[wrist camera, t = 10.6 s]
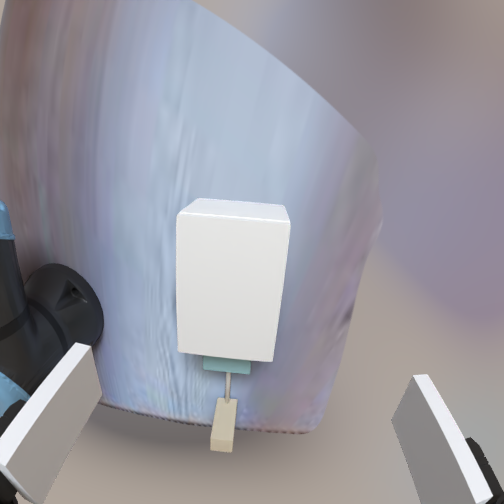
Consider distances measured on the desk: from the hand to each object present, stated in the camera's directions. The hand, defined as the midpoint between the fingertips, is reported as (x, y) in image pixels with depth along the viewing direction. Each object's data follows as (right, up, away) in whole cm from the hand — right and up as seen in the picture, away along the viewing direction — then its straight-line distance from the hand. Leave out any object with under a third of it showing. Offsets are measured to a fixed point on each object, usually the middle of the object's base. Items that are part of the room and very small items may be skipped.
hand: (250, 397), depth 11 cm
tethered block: (-3, -12, +34) cm, 36 cm away
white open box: (-2, +4, +29) cm, 29 cm away
